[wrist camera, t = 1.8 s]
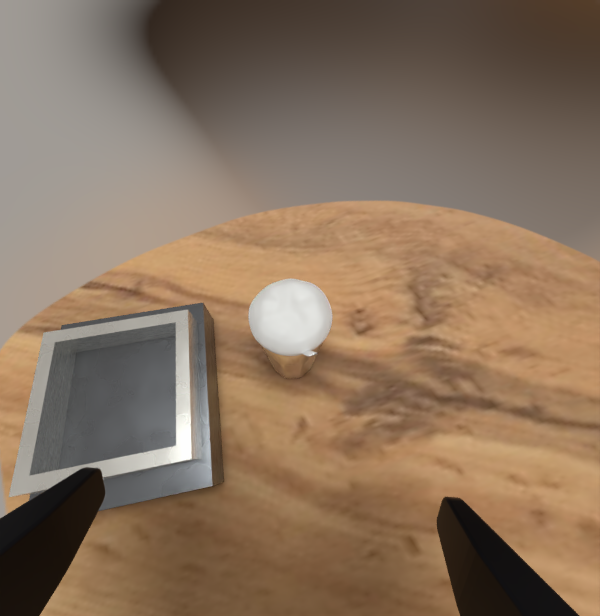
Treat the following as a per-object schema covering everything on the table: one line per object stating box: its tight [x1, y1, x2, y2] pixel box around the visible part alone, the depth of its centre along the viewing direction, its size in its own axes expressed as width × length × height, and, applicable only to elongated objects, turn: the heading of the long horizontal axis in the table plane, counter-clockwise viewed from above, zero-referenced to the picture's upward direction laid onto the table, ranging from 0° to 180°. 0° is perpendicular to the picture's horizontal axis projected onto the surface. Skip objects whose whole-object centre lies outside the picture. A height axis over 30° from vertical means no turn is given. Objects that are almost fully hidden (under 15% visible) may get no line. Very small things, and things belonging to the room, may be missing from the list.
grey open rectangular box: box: [9, 303, 224, 511], centre depth 19 cm, size 12×10×5 cm
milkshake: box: [249, 279, 332, 378], centre depth 19 cm, size 4×5×10 cm
